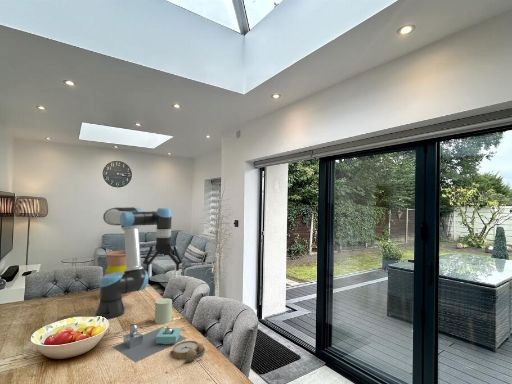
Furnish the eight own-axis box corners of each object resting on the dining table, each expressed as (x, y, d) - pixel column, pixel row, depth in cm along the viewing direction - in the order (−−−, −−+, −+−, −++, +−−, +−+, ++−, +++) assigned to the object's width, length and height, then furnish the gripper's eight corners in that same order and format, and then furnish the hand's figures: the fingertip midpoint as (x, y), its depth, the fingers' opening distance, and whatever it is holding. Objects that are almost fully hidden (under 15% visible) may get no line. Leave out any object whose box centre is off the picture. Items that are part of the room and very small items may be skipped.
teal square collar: (155, 343, 125) (156, 336, 125) (161, 334, 134) (161, 328, 134) (175, 343, 126) (175, 336, 126) (180, 334, 135) (180, 327, 135)
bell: (155, 341, 129) (156, 327, 130) (170, 335, 136) (170, 321, 136) (166, 346, 124) (166, 332, 125) (180, 340, 131) (180, 326, 131)
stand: (123, 344, 126) (123, 325, 126) (135, 339, 131) (136, 321, 131) (129, 348, 122) (130, 329, 123) (142, 343, 127) (143, 324, 128)
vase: (94, 298, 191) (96, 254, 192) (115, 289, 212) (117, 249, 214) (123, 300, 187) (124, 255, 189) (141, 290, 209) (143, 250, 210)
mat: (112, 348, 124) (112, 346, 124) (162, 328, 145) (162, 327, 145) (135, 364, 112) (135, 362, 112) (186, 340, 132) (187, 338, 132)
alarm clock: (184, 339, 128) (210, 340, 121) (185, 350, 127) (211, 352, 120) (166, 350, 118) (193, 352, 111) (167, 362, 117) (194, 365, 110)
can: (166, 326, 147) (167, 303, 148) (151, 324, 149) (151, 302, 150) (174, 319, 156) (175, 298, 157) (160, 318, 158) (160, 296, 159)
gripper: (137, 237, 143) (136, 278, 142) (185, 237, 144) (184, 278, 143) (142, 236, 151) (141, 275, 150) (188, 236, 152) (187, 275, 151)
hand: (162, 276), depth 147 cm, fingers open, 13 cm apart
